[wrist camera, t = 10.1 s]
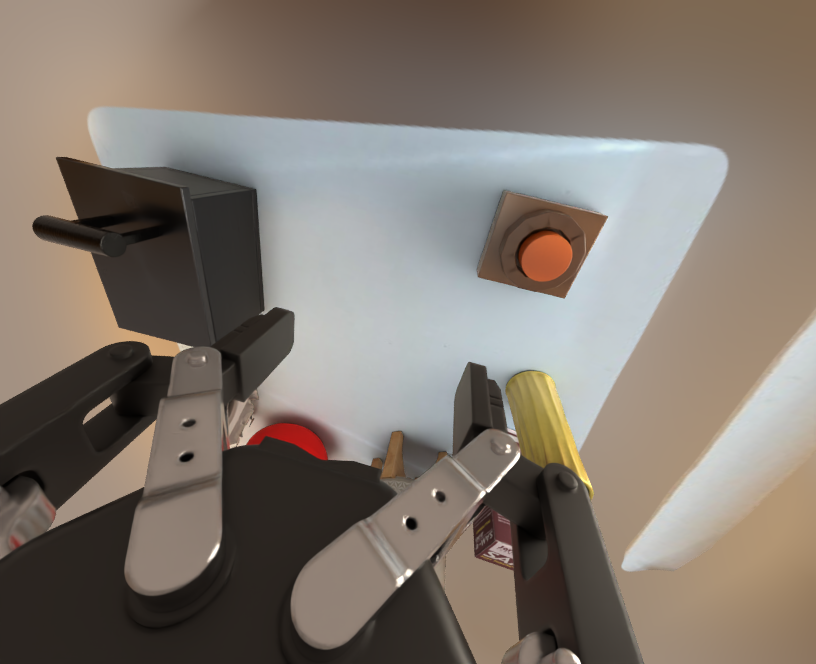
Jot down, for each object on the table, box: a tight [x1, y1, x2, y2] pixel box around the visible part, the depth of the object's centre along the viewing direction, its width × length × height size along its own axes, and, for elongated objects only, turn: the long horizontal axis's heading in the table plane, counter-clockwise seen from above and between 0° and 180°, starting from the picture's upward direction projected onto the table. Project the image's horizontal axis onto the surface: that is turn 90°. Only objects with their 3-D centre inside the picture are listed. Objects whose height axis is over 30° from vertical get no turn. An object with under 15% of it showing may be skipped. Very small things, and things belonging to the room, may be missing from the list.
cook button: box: [518, 231, 572, 282], centre depth 26 cm, size 4×4×2 cm
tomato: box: [246, 423, 328, 460], centre depth 46 cm, size 12×13×11 cm
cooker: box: [115, 167, 264, 342], centre depth 31 cm, size 15×10×9 cm
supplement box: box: [473, 428, 522, 571], centre depth 37 cm, size 9×5×16 cm, turn 69°
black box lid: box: [32, 157, 216, 347], centre depth 25 cm, size 16×10×6 cm, turn 169°
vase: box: [505, 371, 594, 500], centre depth 32 cm, size 6×6×14 cm
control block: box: [477, 190, 608, 298], centre depth 28 cm, size 8×9×4 cm
